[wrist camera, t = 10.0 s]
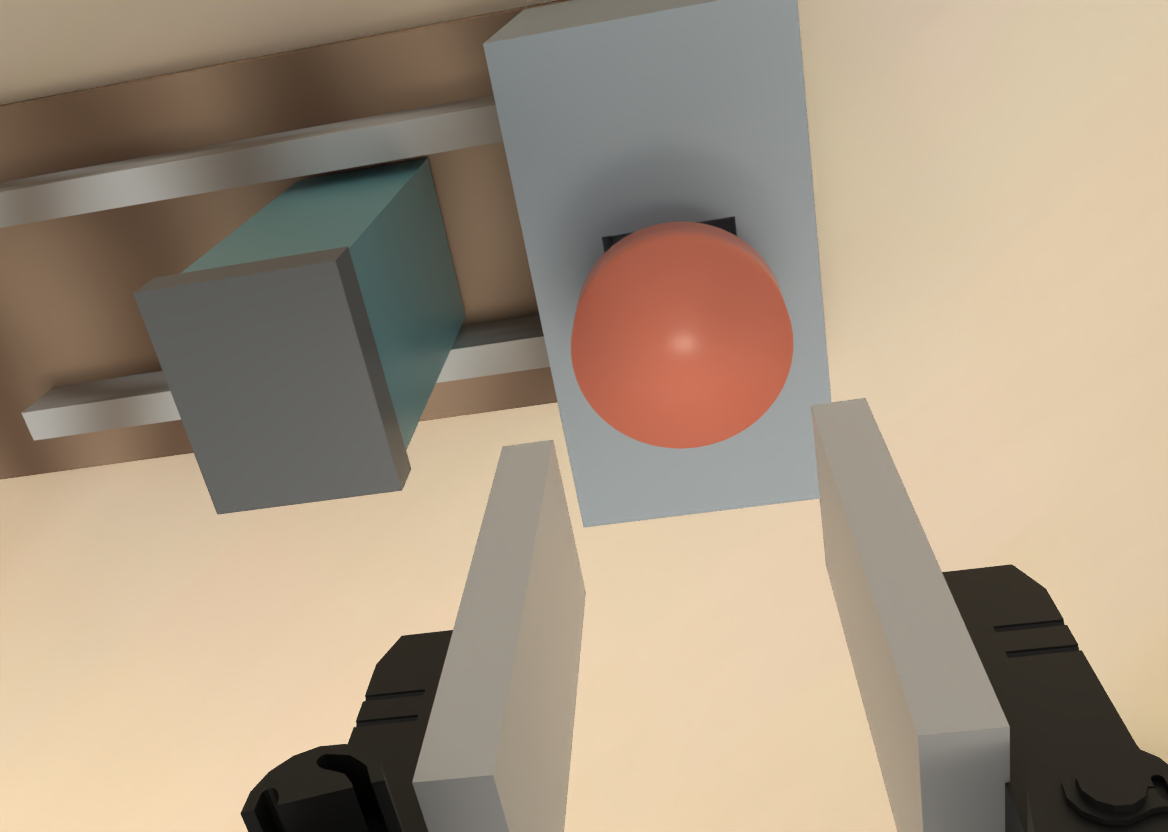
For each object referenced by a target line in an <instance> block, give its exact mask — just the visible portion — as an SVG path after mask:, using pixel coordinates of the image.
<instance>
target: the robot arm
mask: <svg viewBox="0 0 1168 832" xmlns="http://www.w3.org/2000/svg"><path fill="white" fill-rule="evenodd" d="M811 411H812V422H813V432H814V443H815V454H816V464H817V475H818V485H819V496H820V507H821V517H822V528H823V539H824V549H825V560H826V567H827V571H828V574H829V578H830V582H831V586H832V589H833V593H834V597H835V600H836V604H837V608H838V612H839V615H840V619H841V623H842V627H843V630H844V634H845V638H846V641H847V645H848V649H849V653H850V656H851V660H852V664H853V668H854V671H855V675H856V679H857V682H858V686H859V690H860V694H861V697H862V701H863V705H864V708H865V712H866V716H867V720H868V723H869V727H870V731H871V735H872V738H873V742H874V746H875V749H876V753H877V757H878V761H879V764H880V768H881V772H882V776H883V779H884V783H885V787H886V790H887V794H888V798H889V802H890V805H891V809H892V813H893V816H894V820H895V824H896V828H897V831H898V832H1168V764H1167V763H1165V762H1164V761H1163V760H1162V759H1160V758H1159V757H1157V756H1154V755H1152V754H1150V753H1147V752H1145V751H1142V750H1140V749H1139V747H1138V746H1137V745H1136V743H1135V742H1134V740H1133V738H1132V736H1131V735H1130V733H1129V731H1128V729H1127V728H1126V726H1125V724H1124V723H1123V721H1122V719H1121V717H1120V716H1119V714H1118V712H1117V711H1116V709H1115V707H1114V705H1113V704H1112V702H1111V700H1110V698H1109V697H1108V695H1107V693H1106V692H1105V690H1104V688H1103V686H1102V685H1101V683H1100V681H1099V680H1098V678H1097V676H1096V674H1095V673H1094V671H1093V669H1092V667H1091V666H1090V664H1089V662H1088V661H1087V659H1086V657H1085V655H1084V654H1083V652H1082V651H1079V648H1078V643H1077V642H1076V640H1075V638H1074V636H1073V635H1072V633H1071V631H1070V630H1069V628H1068V626H1067V625H1064V620H1063V617H1062V616H1061V614H1060V612H1059V611H1058V609H1057V607H1056V605H1055V604H1054V602H1053V600H1052V599H1051V597H1050V595H1049V593H1048V592H1047V590H1046V588H1044V587H1043V586H1041V585H1040V584H1039V583H1037V582H1036V581H1034V580H1033V579H1032V578H1030V577H1029V576H1027V575H1026V574H1025V573H1023V572H1022V571H1020V570H1019V569H1018V568H1016V567H1015V566H1013V565H1003V566H994V567H985V568H976V569H968V570H959V571H950V572H942V571H941V569H940V567H939V565H938V562H937V560H936V558H935V555H934V553H933V551H932V549H931V546H930V544H929V542H928V539H927V537H926V535H925V533H924V530H923V528H922V526H921V524H920V521H919V519H918V517H917V514H916V512H915V510H914V508H913V505H912V503H911V501H910V498H909V496H908V494H907V492H906V489H905V487H904V485H903V483H902V480H901V478H900V476H899V473H898V471H897V469H896V467H895V464H894V462H893V460H892V457H891V455H890V453H889V451H888V448H887V446H886V444H885V442H884V439H883V437H882V435H881V432H880V430H879V428H878V426H877V423H876V421H875V419H874V417H873V414H872V412H871V410H870V407H869V405H868V403H867V401H866V398H862V399H855V400H847V401H840V402H832V403H825V404H817V405H811ZM585 595H586V592H585V587H584V582H583V577H582V573H581V568H580V563H579V559H578V554H577V549H576V545H575V540H574V535H573V531H572V526H571V521H570V517H569V512H568V507H567V503H566V498H565V493H564V489H563V484H562V479H561V475H560V470H559V465H558V461H557V456H556V451H555V447H554V442H553V440H549V441H541V442H534V443H526V444H519V445H511V446H504V447H502V451H501V454H500V458H499V462H498V466H497V469H496V473H495V477H494V480H493V484H492V488H491V492H490V495H489V499H488V503H487V506H486V510H485V514H484V518H483V521H482V525H481V529H480V532H479V536H478V540H477V544H476V547H475V551H474V555H473V558H472V562H471V566H470V570H469V573H468V577H467V581H466V584H465V588H464V592H463V596H462V599H461V603H460V607H459V610H458V614H457V618H456V622H455V625H454V629H453V630H449V631H440V632H431V633H422V634H414V635H405V636H401V637H400V638H399V640H398V641H397V642H396V643H395V644H394V645H393V646H392V647H391V649H390V650H389V651H388V652H387V653H386V654H385V655H384V656H383V658H382V659H381V660H380V661H379V662H378V663H377V664H376V667H375V670H374V672H373V675H372V678H371V681H370V684H369V686H368V689H367V692H366V695H365V697H366V701H364V702H363V703H362V706H361V709H360V711H359V714H358V717H357V720H356V723H357V726H356V727H354V728H353V731H352V734H351V737H350V739H349V742H348V745H347V744H340V745H330V746H320V747H317V748H314V749H311V750H309V751H306V752H303V753H300V754H298V755H295V756H293V757H291V758H290V759H288V760H286V761H285V762H283V763H282V764H280V765H279V766H277V767H276V768H274V769H273V770H271V771H270V772H268V774H267V775H266V776H265V777H264V778H263V779H262V780H261V781H260V782H259V783H258V784H257V785H256V786H255V788H254V789H253V790H252V791H251V792H250V794H249V796H248V798H247V801H246V803H245V805H244V807H243V809H242V812H241V816H242V818H243V820H244V823H245V825H246V827H247V830H248V832H564V825H565V814H566V803H567V792H568V781H569V770H570V759H571V748H572V737H573V726H574V715H575V704H576V693H577V682H578V672H579V661H580V650H581V639H582V628H583V617H584V606H585Z"/></svg>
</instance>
